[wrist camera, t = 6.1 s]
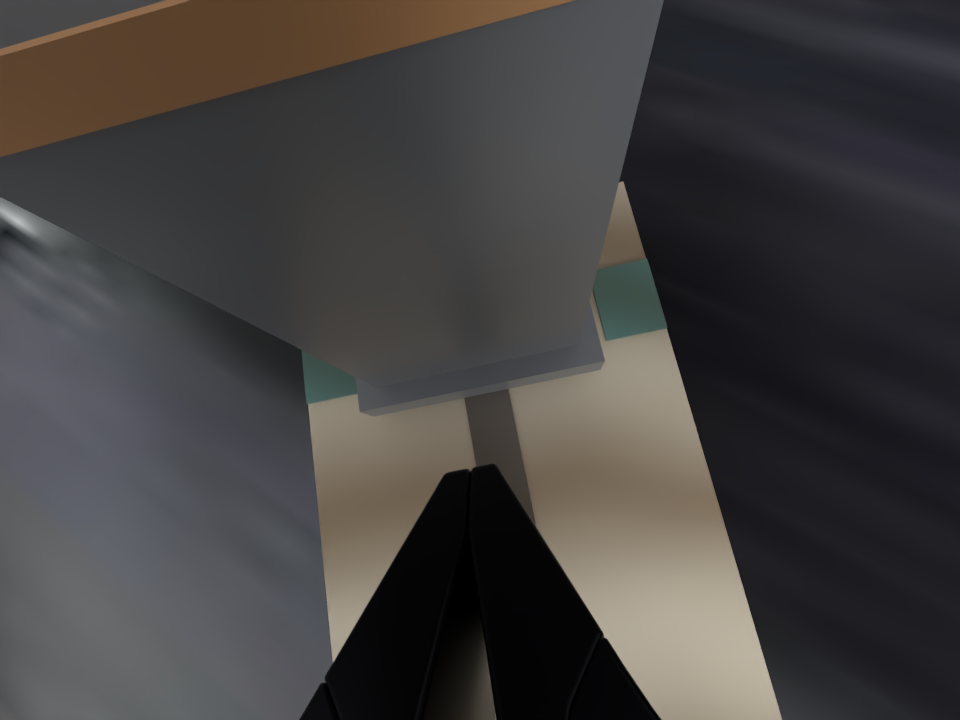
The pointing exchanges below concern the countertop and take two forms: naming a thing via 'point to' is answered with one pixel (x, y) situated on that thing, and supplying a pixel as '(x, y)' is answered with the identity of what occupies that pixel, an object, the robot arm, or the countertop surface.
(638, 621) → the fader console
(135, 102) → the handle
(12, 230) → the countertop surface
